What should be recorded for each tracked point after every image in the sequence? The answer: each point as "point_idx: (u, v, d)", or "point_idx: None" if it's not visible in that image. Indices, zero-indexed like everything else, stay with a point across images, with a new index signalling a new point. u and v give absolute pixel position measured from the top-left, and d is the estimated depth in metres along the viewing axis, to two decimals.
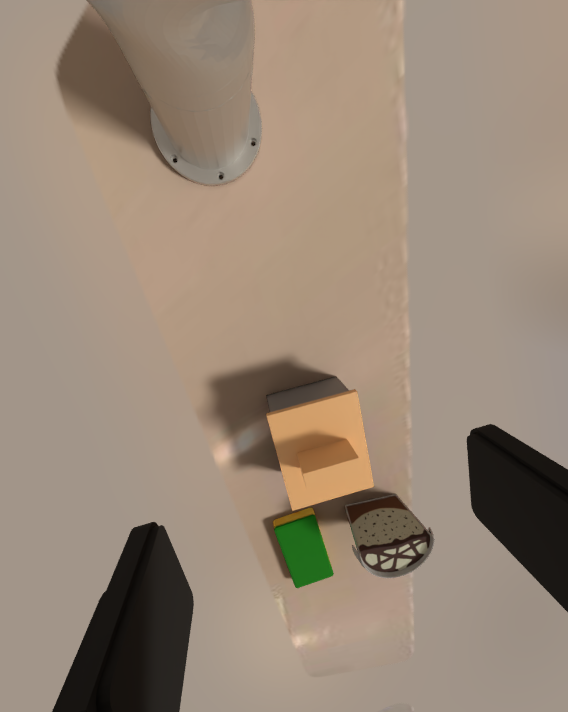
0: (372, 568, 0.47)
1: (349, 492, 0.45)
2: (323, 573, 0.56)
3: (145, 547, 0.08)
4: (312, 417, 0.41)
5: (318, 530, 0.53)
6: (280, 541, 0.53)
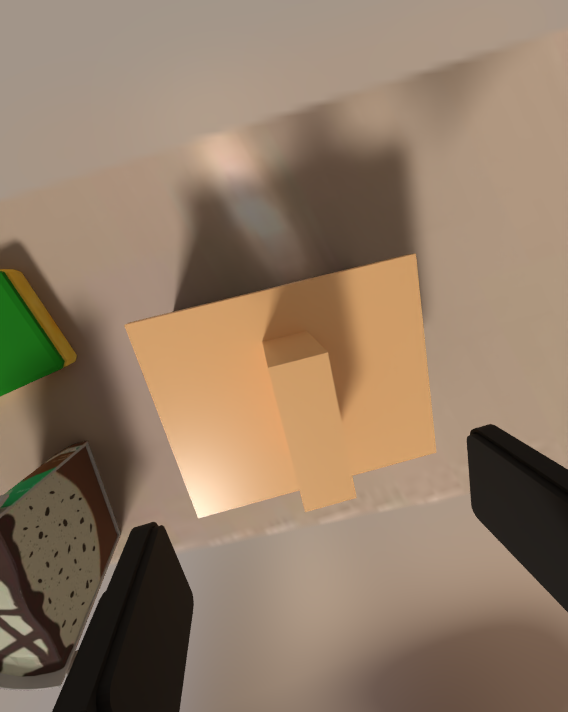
0: None
1: (183, 466, 0.18)
2: None
3: (145, 547, 0.08)
4: (393, 364, 0.18)
5: (19, 383, 0.21)
6: None
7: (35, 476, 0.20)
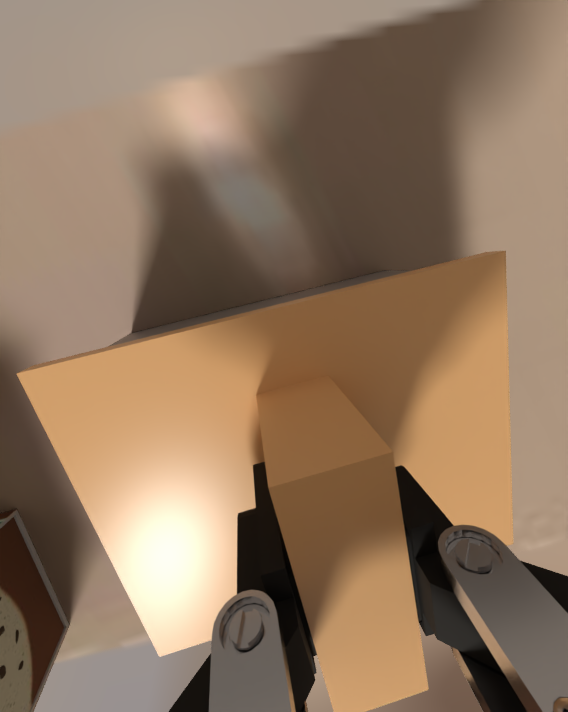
0: None
1: (132, 587, 0.11)
2: None
3: None
4: (459, 423, 0.11)
5: None
6: None
7: None
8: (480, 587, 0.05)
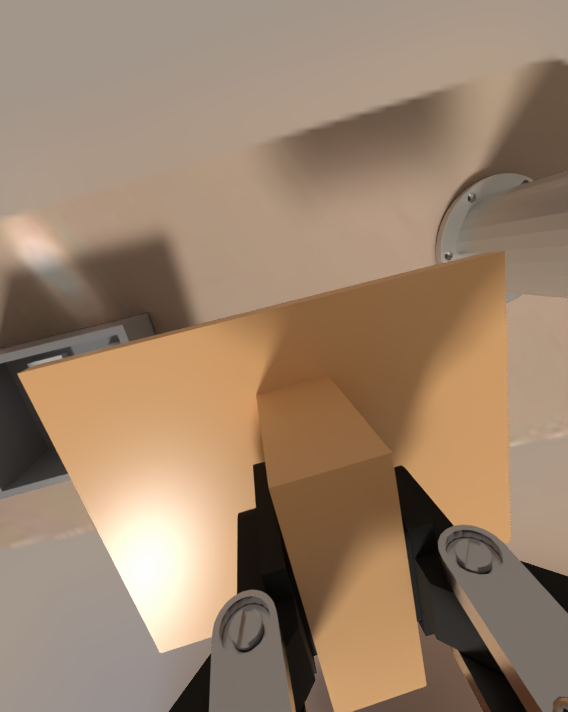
0: None
1: (133, 585, 0.11)
2: None
3: None
4: (459, 423, 0.11)
5: None
6: None
7: None
8: (480, 587, 0.05)
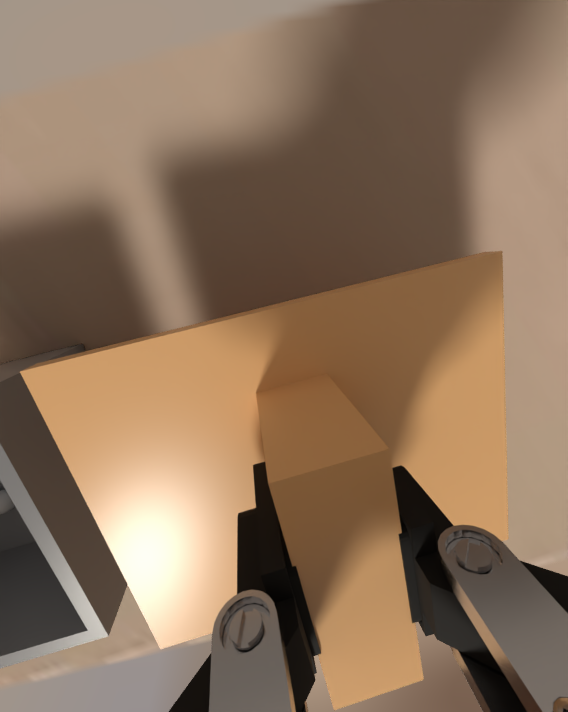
0: None
1: (134, 581, 0.12)
2: None
3: None
4: (456, 421, 0.12)
5: None
6: None
7: None
8: (480, 587, 0.05)
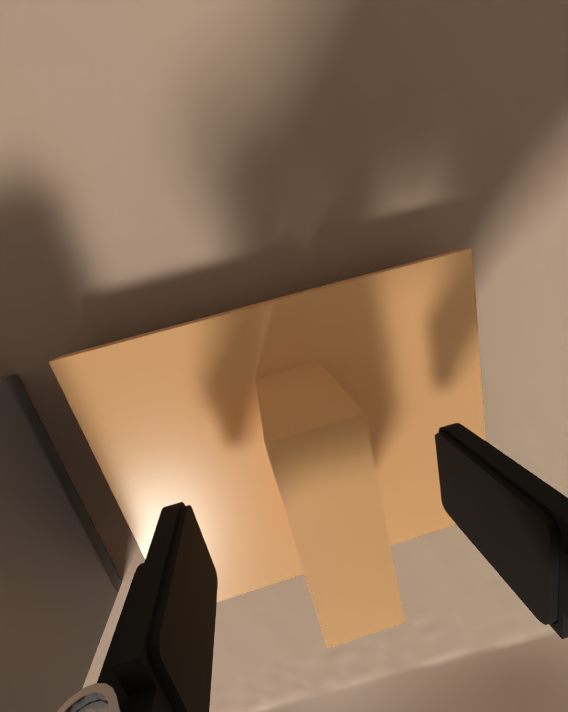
0: None
1: None
2: None
3: (176, 523, 0.08)
4: (437, 403, 0.13)
5: None
6: None
7: None
8: None
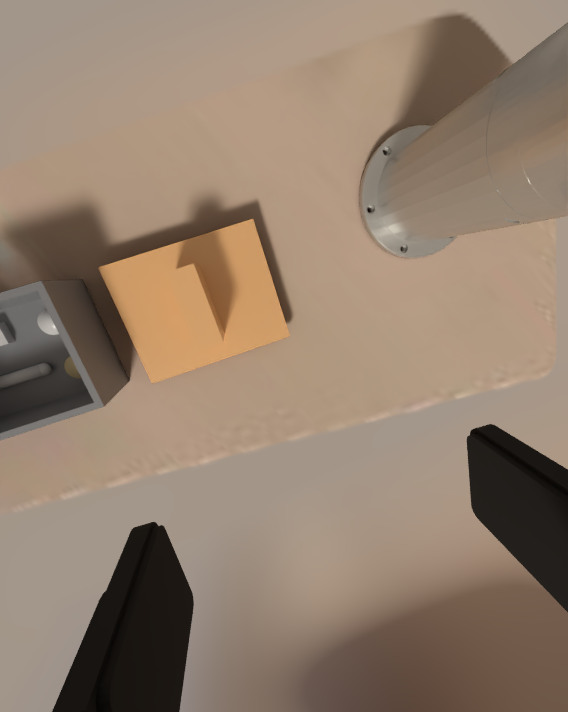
0: None
1: (139, 350, 0.31)
2: None
3: (145, 547, 0.08)
4: (252, 283, 0.32)
5: None
6: None
7: None
8: None
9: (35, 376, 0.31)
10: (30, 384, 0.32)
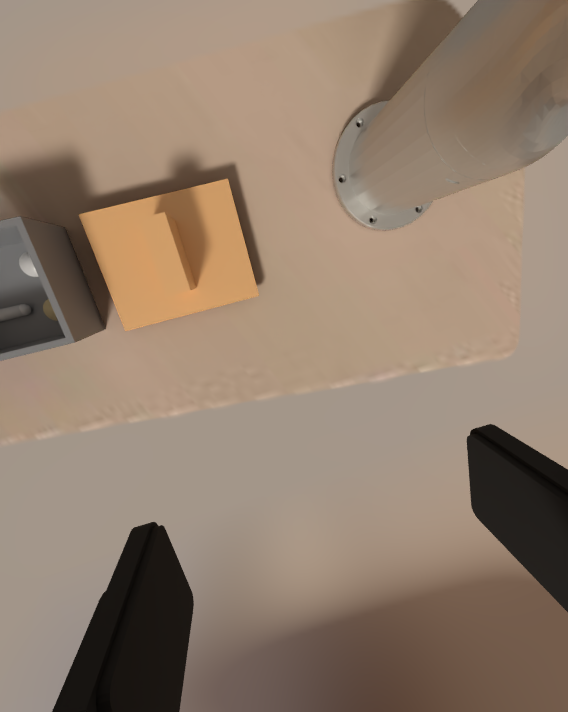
0: None
1: (114, 298, 0.33)
2: None
3: (145, 547, 0.08)
4: (225, 241, 0.33)
5: None
6: None
7: None
8: None
9: (15, 315, 0.33)
10: (10, 324, 0.34)
